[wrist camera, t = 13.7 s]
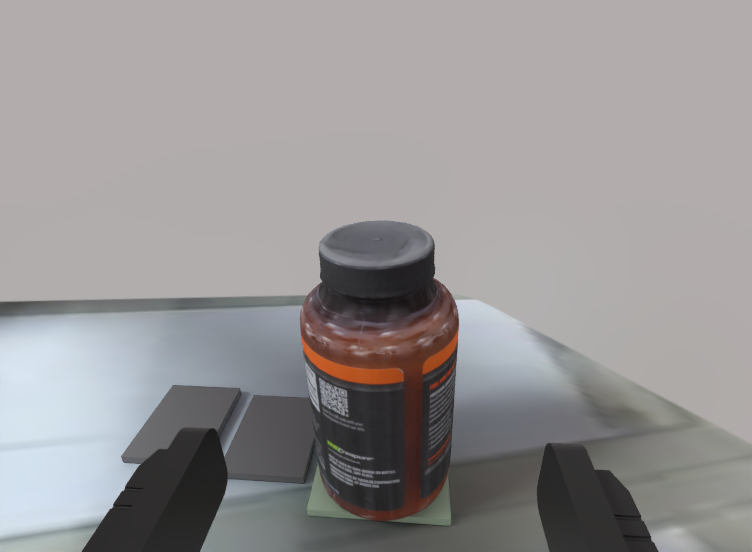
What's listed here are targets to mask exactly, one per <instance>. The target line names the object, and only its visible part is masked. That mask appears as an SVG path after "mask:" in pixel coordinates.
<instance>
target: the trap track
mask: <svg viewBox="0 0 752 552" xmlns="http://www.w3.org/2000/svg"><path fill="white" fill-rule="evenodd" d="M240 395H241V391H240V388H223V387H202V386H181V385H173V386H172V387H171V389H170V390H169V391H168V393H167V394H166V396H165V397H164V398H163V400H162V401H161V402H160V404H159V405H158V407H157V408H156V409H155V411H154V412H153V413H152V415H151V416H150V418H149V419H148V420H147V422H146V423H145V424H144V426H143V427H142V428H141V430H140V431H139V433H138V434H137V435H136V437H135V438H134V439H133V441H132V442H131V444H130V445H129V446H128V448H127V449H126V450H125V452H124V453H123V455H122V456H121V458H122V460H123V462H127V463H143V462H144V461H145V460H146V459H147V458H149V457H150V456H151V455H152V454H153V453H154V452H155V451H157V450H158V449H168V448H169V446H170V444H171V443H172V441H173V440H174V438H175V436H176V435H177V433H178V432H179V431H180V430H181V429H182V428H184V427H196V428H214V429H216V431H217V433H218V436H220V434H221V432H222V430H223V428H224V426H225V424H226V422H227V420H228V418H229V416H230V414H231V412H232V410H233V408H234V406H235V405H236V403H237V401H238V399H239V397H240ZM314 444H315V436H314V429H313V422H312V414H311V405H310V398H300V397H280V396H259V395H254V396H253V399H252V401H251V403H250V405H249V407H248V409H247V411H246V413H245V415H244V417H243V420H242V422H241V424H240V426H239V428H238V430H237V432H236V434H235V436H234V438H233V441H232V443H231V445H230V447H229V449H228V451H227V453H226V455H225V457H224V459H225V462H226V466H227V471H228V478H229V479H244V480H259V481H274V482H289V483H304V482H305V478H306V474H307V470H308V467H309V463H310V459H311V455H312V452H313V448H314ZM307 515H308V516H321V517H335V518H349V519H363V520H368V519H365V518H362V517H358V516H356V515H353V514H351V513H350V512H348V511H346V510H344V509H343V508H342V507H340V506H339V505H338V504H337V503H336V502H335V501H334V500H333V499H332V498H331V497H330V496H329V494H328V493H327V491H326V489H325V487H324V484H323V482H322V479H321V476H320V471H319V465H318V464H317V469H316V473H315V477H314V481H313V485H312V489H311V493H310V497H309V501H308V505H307ZM391 522H404V523H418V524H432V525H446V526H451V509H450V494H449V479H448V475H447V479H446V482H445V484H444V486H443V488H442V490H441V492H440V493H439V494H438V496H437V497H436V499H434V501H433V502H431V504H430V505H429V506H428V507H426V508H425V509H423V510H421V511H420V512H418V513H416V514H413V515H411V516H408V517H405V518H402V519H398V520H391Z"/></svg>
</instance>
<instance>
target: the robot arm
mask: <svg viewBox="0 0 752 552" xmlns="http://www.w3.org/2000/svg"><path fill="white" fill-rule="evenodd" d="M227 479H228V471H227V466H226V462H225V459H224V455H223V451H222V448H221V444H220V440H219V436H218V433H217V431H216V429H214V428H196V427H184V428H182V429H181V430H180V431H179V432H178V433H177V435H176V436H175V438H174V440H173V441H172V443H171V444H170V446H169V448H168V449H158V450H157V451H155V452H154V453H153V454H152V455H151V456H150V457H149V458H147V459H146V460H145V461H144V462H143V463H142V464H141V465H139V466H138V468H137V469H136V471H135V472H134V474H133V475H132V477H131V478H130V480H129V481H128V483H127V484H126V486H125V490H124V491H122V492H121V493H120V495H119V496H118V498H117V499H116V501H115V502H114V504H113V508H112V509H110V510H109V511H108V513H107V514H106V516H105V517H104V519H103V520H102V522H101V523H100V525H99V526H98V528H97V529H96V531H95V532H94V534H93V535H92V537H91V538H90V540H89V541H88V543H87V544H86V546H85V547H84V549H83V550H82V552H200V550H201V548H202V545H203V543H204V541H205V538H206V536H207V534H208V531H209V529H210V527H211V524H212V522H213V520H214V518H215V515H216V513H217V511H218V508H219V506H220V504H221V501H222V499H223V496H224V494H225V491H226V486H227ZM537 501H538V509H539V514H540V518H541V521H542V525H543V529H544V533H545V536H546V540H547V544H548V547H549V551H550V552H658V550H657V548H656V546H655V544H654V542H652V541H651V536H650V534H649V532H648V530H647V527H646V525H645V523H644V521H642V520H641V515H640V513H639V511H638V509H637V507H636V505H635V503H634V501H633V499H632V497H631V495H630V492H629V491H628V490H627V489H626V488H625V487H624V486H623V485H622V484H621V482H620V481H619V480H618V479H617V478H616V477H615V476H614V475H613V474H612V473H611V472H610V471H609V470H594V467H593V465H592V463H591V460H590V458H589V456H588V453H587V451H586V449H585V448H584V446H583V445H581V444H560V443H548V444H547V445H546V447H545V452H544V456H543V461H542V466H541V471H540V476H539V481H538V486H537Z"/></svg>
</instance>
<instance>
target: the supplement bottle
mask: <svg viewBox="0 0 752 552" xmlns="http://www.w3.org/2000/svg"><path fill="white" fill-rule="evenodd" d="M434 246H435V245H434V240H433V238H432V237H431V235H430V234H429V233H427V232H426V231H425V230H423V229H421V228H419V227H418V226H414V225H411V224H407V223H402V222H395V221H366V222H359V223H354V224H349V225H345V226H342V227H340V228H337V229H335V230H333V231H331V232H329V233H328V234H327V235H326V236H325V237H324V238H323V239H322V240H321V241H320V245H319V257H320V267H321V273H320V278H321V280H322V281H323V282H322V283H320V284H319V285H318V286H316V287H315V288H314V289H313V290H312V291H311V292H310V294H309V295H308V297H307V298H306V300H305V302H304V304H303V307H302V310H301V314H300V326H301V337H302V344H303V354H304V361H305V368H306V375H307V383H308V390H309V398H310V405H311V414H312V422H313V429H314V436H315V446H316V451H317V459H318V465H319V471H320V476H321V479H322V482H323V484H324V487H325V489H326V491H327V493H328V494H329V496H330V497H331V498H332V499H333V500H334V501H335V502H336V503H337V504H338V505H339V506H340V507H342V508H343V509H344V510H346V511H348V512H350V513H351V514H353V515H356V516H358V517H362V518H365V519H368V520H372V521H391V520H398V519H402V518H405V517H408V516H411V515H413V514H416V513H418V512H420V511H421V510H423V509H425V508H426V507H428V506H429V505H430V504H431V502H433V501H434V499H436V497H437V496H438V494H439V493H440V492H441V490H442V488H443V486H444V484H445V482H446V479H447V475H448V470H449V463H450V453H451V439H452V423H453V408H454V392H455V376H456V361H457V346H458V329H459V318H458V310H457V306H456V303H455V300H454V299H453V297H452V295H451V293H450V292H449V291H448V289H447V288H446V287H445V286H444V285H443V284H441V283H440V282H439V281H437V280H436V279H434V278H433V277H434V274H435V267H434V249H435V248H434Z"/></svg>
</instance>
